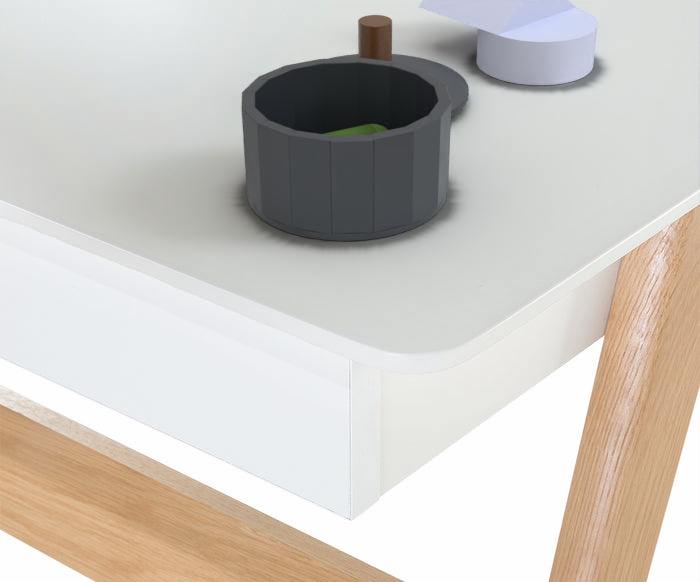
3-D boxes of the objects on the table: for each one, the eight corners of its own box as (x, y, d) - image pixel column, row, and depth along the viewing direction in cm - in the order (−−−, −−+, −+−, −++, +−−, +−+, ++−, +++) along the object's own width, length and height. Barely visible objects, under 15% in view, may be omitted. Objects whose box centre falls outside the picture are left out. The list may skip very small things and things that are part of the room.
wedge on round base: (417, 48, 99) (539, 95, 91) (418, -36, 95) (546, 5, 87) (494, 21, 104) (616, 63, 96) (498, -60, 100) (627, -23, 92)
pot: (296, 259, 71) (292, 157, 68) (218, 172, 81) (211, 78, 77) (483, 213, 76) (489, 114, 72) (389, 135, 85) (390, 45, 82)
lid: (330, 156, 83) (328, 69, 79) (253, 86, 93) (249, 6, 89) (503, 118, 88) (509, 35, 84) (412, 55, 98) (414, -22, 94)
